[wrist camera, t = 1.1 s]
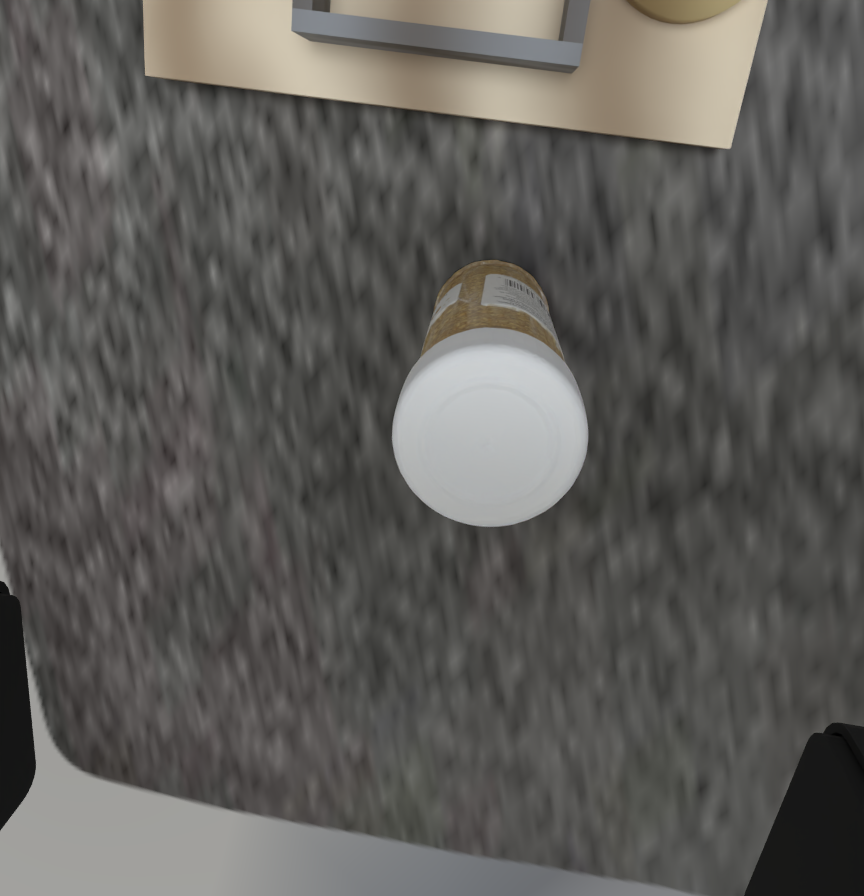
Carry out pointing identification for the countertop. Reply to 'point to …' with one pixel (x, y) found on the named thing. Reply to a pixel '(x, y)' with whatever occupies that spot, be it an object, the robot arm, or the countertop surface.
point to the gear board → (480, 58)
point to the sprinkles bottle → (490, 403)
